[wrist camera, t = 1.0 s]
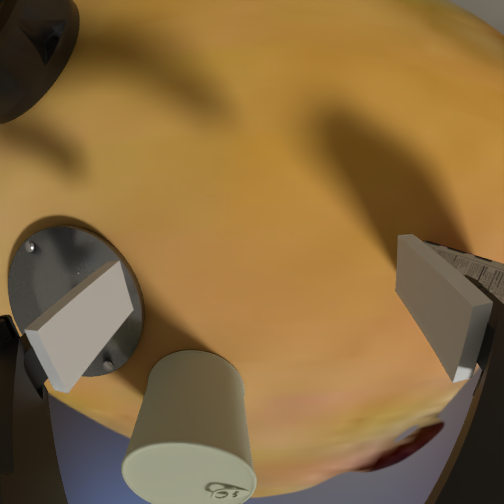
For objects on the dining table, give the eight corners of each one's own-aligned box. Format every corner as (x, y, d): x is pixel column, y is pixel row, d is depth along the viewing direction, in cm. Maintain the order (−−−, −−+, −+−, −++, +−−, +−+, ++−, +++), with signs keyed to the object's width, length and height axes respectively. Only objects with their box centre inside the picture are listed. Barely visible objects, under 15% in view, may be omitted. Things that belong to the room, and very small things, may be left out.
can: (229, 432, 29) (236, 525, 17) (142, 411, 27) (117, 502, 16) (257, 362, 27) (278, 460, 16) (156, 337, 26) (121, 429, 14)
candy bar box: (483, 276, 28) (593, 326, 12) (465, 316, 29) (567, 381, 13) (423, 235, 26) (566, 281, 10) (401, 283, 27) (530, 363, 11)
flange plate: (-6, 274, 23) (-13, 277, 22) (87, 192, 23) (80, 193, 22) (71, 387, 26) (66, 395, 25) (176, 333, 26) (173, 340, 25)
